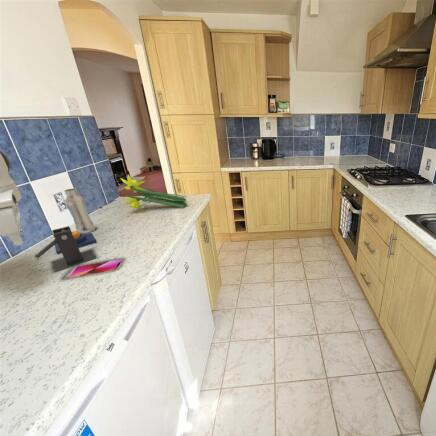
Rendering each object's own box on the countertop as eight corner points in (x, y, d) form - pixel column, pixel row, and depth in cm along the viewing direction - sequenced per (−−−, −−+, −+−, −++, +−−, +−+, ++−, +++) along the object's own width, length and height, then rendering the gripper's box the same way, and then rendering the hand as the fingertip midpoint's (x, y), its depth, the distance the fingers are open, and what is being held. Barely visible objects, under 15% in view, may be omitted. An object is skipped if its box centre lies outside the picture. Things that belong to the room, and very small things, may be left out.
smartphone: (73, 266, 82) (124, 258, 86) (75, 269, 82) (124, 260, 86) (62, 279, 75) (116, 269, 79) (63, 282, 76) (117, 272, 79)
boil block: (58, 256, 90) (54, 247, 88) (56, 247, 96) (52, 238, 95) (97, 244, 98) (94, 235, 96) (93, 237, 104) (89, 228, 103)
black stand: (56, 274, 80) (39, 240, 74) (54, 264, 85) (38, 231, 80) (97, 260, 87) (84, 228, 82) (92, 251, 92) (80, 221, 87)
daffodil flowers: (179, 215, 127) (105, 202, 120) (185, 219, 141) (119, 207, 134) (186, 184, 130) (114, 170, 123) (191, 191, 144) (127, 179, 138)
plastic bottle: (87, 236, 105) (69, 192, 97) (74, 235, 106) (55, 191, 98) (100, 230, 110) (84, 187, 102) (87, 229, 111) (70, 187, 103)
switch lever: (37, 264, 77) (28, 260, 75) (36, 259, 80) (28, 255, 79) (71, 236, 81) (64, 231, 80) (69, 231, 85) (62, 227, 83)
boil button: (67, 242, 93) (64, 237, 92) (65, 238, 96) (63, 233, 95) (81, 237, 96) (79, 233, 95) (79, 234, 98) (78, 230, 98)
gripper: (-16, 191, 74) (6, 231, 79) (-25, 207, 61) (2, 254, 66) (14, 186, 78) (33, 225, 83) (12, 201, 65) (34, 246, 70)
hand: (19, 238), depth 75 cm, fingers open, 8 cm apart
